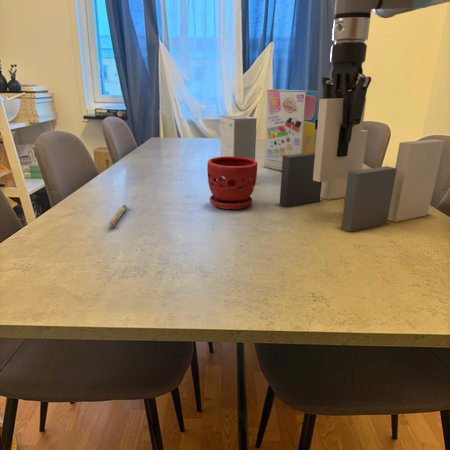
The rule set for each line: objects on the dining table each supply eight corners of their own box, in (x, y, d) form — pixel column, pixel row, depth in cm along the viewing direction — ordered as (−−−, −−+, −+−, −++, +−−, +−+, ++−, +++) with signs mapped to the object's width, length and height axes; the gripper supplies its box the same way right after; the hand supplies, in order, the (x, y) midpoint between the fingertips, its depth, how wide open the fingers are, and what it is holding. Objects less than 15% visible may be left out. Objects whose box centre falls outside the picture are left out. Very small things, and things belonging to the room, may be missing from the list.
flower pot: (200, 209, 115) (199, 162, 109) (218, 197, 125) (218, 154, 120) (246, 214, 110) (247, 166, 105) (261, 202, 121) (263, 157, 116)
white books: (427, 215, 110) (444, 140, 102) (395, 222, 105) (410, 144, 97) (351, 192, 131) (360, 129, 123) (321, 197, 126) (328, 131, 117)
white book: (356, 176, 109) (366, 97, 100) (319, 182, 103) (327, 99, 95) (349, 174, 111) (358, 97, 102) (312, 180, 105) (319, 99, 97)
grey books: (386, 223, 104) (397, 168, 98) (350, 231, 98) (358, 173, 92) (313, 199, 124) (317, 151, 118) (279, 204, 119) (282, 155, 113)
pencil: (112, 230, 98) (127, 208, 114) (111, 226, 98) (127, 204, 114) (106, 230, 98) (122, 208, 114) (105, 226, 98) (122, 204, 114)
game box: (311, 174, 155) (319, 90, 143) (300, 176, 152) (307, 90, 140) (274, 165, 170) (278, 88, 158) (263, 166, 168) (266, 89, 155)
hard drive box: (255, 184, 141) (257, 118, 132) (232, 185, 139) (233, 119, 130) (240, 174, 154) (241, 114, 145) (219, 176, 152) (219, 114, 143)
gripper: (312, 44, 98) (304, 152, 109) (363, 39, 86) (349, 161, 97) (337, 45, 101) (327, 149, 112) (390, 40, 89) (372, 158, 100)
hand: (337, 155), depth 105 cm, fingers closed on white book, 2 cm apart
